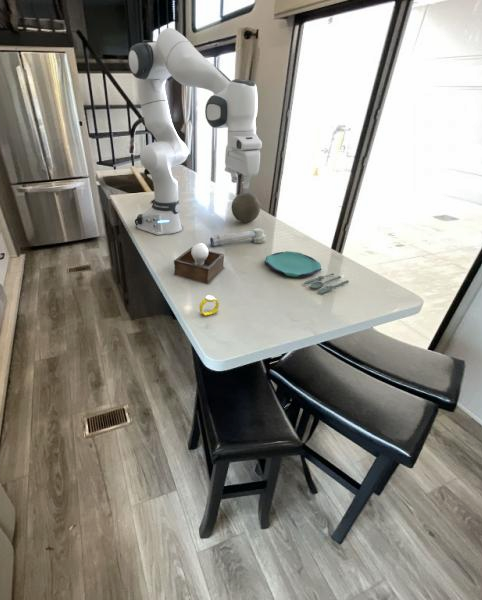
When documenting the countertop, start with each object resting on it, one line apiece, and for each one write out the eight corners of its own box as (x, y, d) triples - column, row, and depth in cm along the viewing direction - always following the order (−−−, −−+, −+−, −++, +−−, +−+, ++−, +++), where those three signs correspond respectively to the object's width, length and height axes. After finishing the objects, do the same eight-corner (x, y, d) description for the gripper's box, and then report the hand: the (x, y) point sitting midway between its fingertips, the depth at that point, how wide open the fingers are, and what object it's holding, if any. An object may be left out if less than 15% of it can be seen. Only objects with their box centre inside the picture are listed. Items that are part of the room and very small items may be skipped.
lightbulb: (188, 269, 121) (188, 242, 115) (203, 266, 123) (204, 239, 117) (195, 276, 116) (195, 248, 110) (210, 273, 118) (211, 246, 112)
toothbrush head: (209, 235, 139) (262, 223, 142) (210, 248, 143) (262, 237, 146) (212, 239, 135) (267, 227, 138) (213, 253, 139) (267, 241, 142)
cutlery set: (293, 252, 134) (294, 247, 133) (353, 284, 112) (354, 278, 111) (255, 262, 126) (256, 256, 125) (312, 298, 104) (313, 292, 103)
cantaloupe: (235, 216, 172) (238, 188, 164) (261, 220, 167) (265, 191, 159) (226, 224, 162) (228, 195, 154) (253, 229, 157) (257, 198, 148)
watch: (201, 318, 94) (202, 302, 91) (197, 313, 96) (198, 297, 93) (219, 314, 96) (220, 297, 93) (215, 309, 99) (216, 293, 95)
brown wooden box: (174, 274, 117) (173, 260, 114) (191, 260, 127) (192, 246, 124) (207, 284, 112) (208, 269, 108) (223, 268, 122) (224, 254, 119)
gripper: (220, 138, 109) (220, 180, 117) (245, 144, 93) (242, 193, 100) (237, 136, 111) (236, 178, 118) (264, 143, 94) (261, 190, 101)
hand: (239, 185), depth 109 cm, fingers open, 8 cm apart
